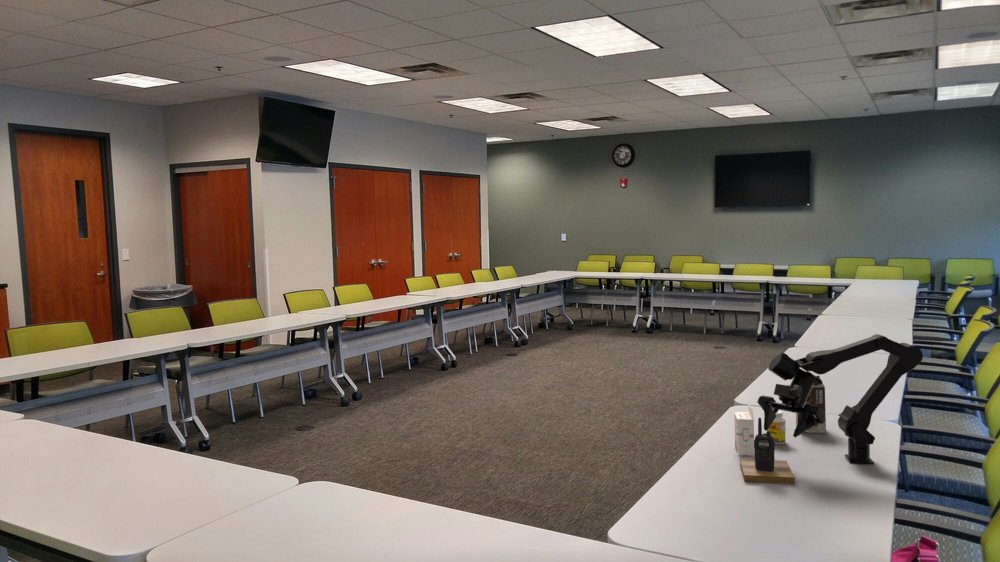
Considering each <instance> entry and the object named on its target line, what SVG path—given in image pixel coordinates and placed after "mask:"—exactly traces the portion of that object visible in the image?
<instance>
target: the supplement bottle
mask: <svg viewBox="0 0 1000 562" xmlns="http://www.w3.org/2000/svg"><path fill="white" fill-rule="evenodd" d="M775 414H776V415H777V416H776V418H775V419H774V421H773V422H772V424H771V425H770V427H769V428H768V430H767V431H770V433H771V436H772V437H773V439H774V442H775V445H783V444H785V443H786V440H787V439H786V438H787V437H786V418H785V417H783V416H784V415H783V410H778V412H777V413H775ZM767 431H766V432H767Z"/></svg>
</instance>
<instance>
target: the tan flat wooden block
mask: <svg viewBox="0 0 1000 562" xmlns="http://www.w3.org/2000/svg"><path fill="white" fill-rule="evenodd" d="M739 467H741V468H740V471H741V474H742V478H743V481H744V483H756V484H757V483H758V484H775V485H777V484H778V485H795V484H796V483H795V482H796V480H795V475H794V473H793V471H792V469H791V467H790V465H789V463H788V461H787V460H783V459H781V460H780V459H774V470H773V471H764V470H757V469H756V468H755V458H739Z"/></svg>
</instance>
